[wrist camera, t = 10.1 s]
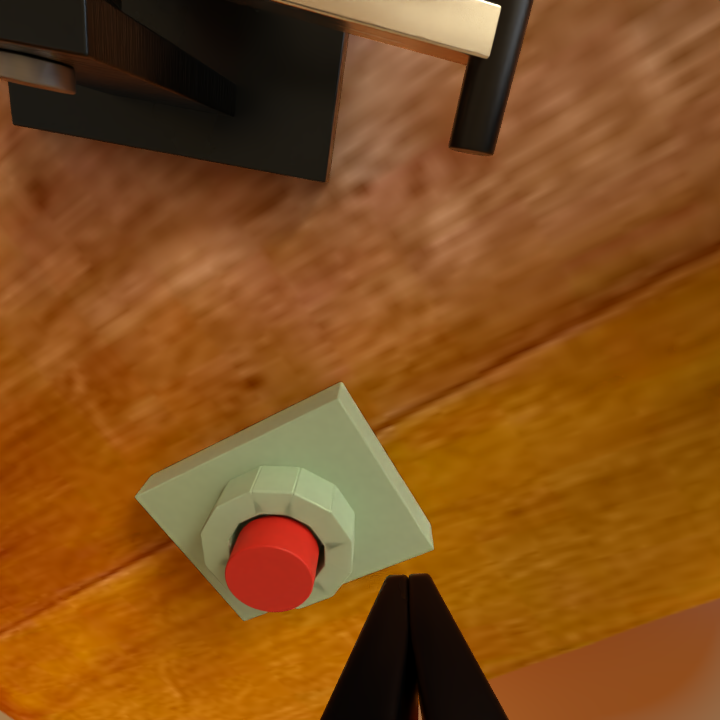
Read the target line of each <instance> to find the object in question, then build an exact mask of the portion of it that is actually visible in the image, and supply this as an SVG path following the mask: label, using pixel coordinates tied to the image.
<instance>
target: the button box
mask: <svg viewBox="0 0 720 720" xmlns="http://www.w3.org/2000/svg"><path fill="white" fill-rule="evenodd" d="M135 499H136V500H137V501H138V502H139V503H140V504H141V505H142V506H143V508H144V509H145V510H146V511H147V512H148V513H149V514H150V516H151V517H152V518H153V519H154V520H155V521H156V522H157V523H158V525H159V526H160V527H161V528H162V529H163V530H164V531H165V533H166V534H167V535H168V536H169V537H170V538H171V539H172V540H173V542H174V543H175V544H176V545H177V546H178V547H179V548H180V550H181V551H182V552H183V553H184V554H185V555H186V556H187V557H188V559H189V560H190V561H191V562H192V563H193V564H194V565H195V566H196V568H197V569H198V570H199V571H200V572H201V573H202V574H203V576H204V577H205V578H206V579H207V580H208V581H209V582H210V583H211V585H212V586H213V587H214V588H215V589H216V590H217V591H218V593H219V594H220V595H221V596H222V597H223V598H224V599H225V600H226V602H227V603H228V604H229V605H230V606H231V607H232V608H233V610H234V611H235V612H236V613H237V614H238V615H239V616H240V617H241V619H242V620H243V621H246V620H249V619H251V618H254V617H257V616H259V615H262V614H265V613H267V612H266V611H261V610H257V609H254V608H252V607H249V606H247V605H245V604H244V603H242V602H241V601H239V600H238V599H237V598H236V597H235V596H234V595H233V594H232V593H231V591H230V590H229V588H228V586H227V583H226V580H225V567H226V564H227V562H228V559H229V557H230V554H231V552H232V550H233V547H234V545H235V542H236V540H237V537H238V535H239V533H240V531H241V530H242V529H243V527H244V526H245V525H247V524H248V523H249V522H251V521H252V520H254V519H257V518H260V517H264V516H274V515H276V516H284V517H288V518H291V519H294V520H296V521H298V522H300V523H301V524H303V525H304V526H306V527H307V528H308V529H309V530H310V531H311V532H312V534H313V535H314V537H315V538H316V541H317V543H318V547H319V557H318V563H317V569H316V575H315V580H314V586H313V590H312V592H311V594H310V596H309V597H308V599H307V600H306V601H305V602H304V603H302V604H301V605H300V606H298V607H296V608H294V609H299V608H303V607H306V606H308V605H311V604H314V603H316V602H319V601H322V600H324V599H327V598H330V597H332V596H333V595H334V594H335V593H336V591H337V590H338V589H339V588H340V586H341V585H342V584H344V583H347V582H349V581H352V580H355V579H357V578H360V577H363V576H365V575H368V574H371V573H373V572H376V571H379V570H381V569H384V568H387V567H389V566H392V565H394V564H397V563H400V562H402V561H405V560H408V559H410V558H413V557H416V556H418V555H421V554H424V553H426V552H429V551H432V550H433V549H434V546H433V538H432V531H431V524H430V523H429V521H428V519H427V518H426V516H425V515H424V513H423V511H422V510H421V508H420V506H419V505H418V503H417V502H416V500H415V498H414V497H413V495H412V494H411V492H410V490H409V489H408V487H407V486H406V484H405V482H404V481H403V479H402V478H401V476H400V474H399V473H398V471H397V470H396V468H395V466H394V465H393V463H392V461H391V460H390V458H389V457H388V455H387V453H386V452H385V450H384V449H383V447H382V445H381V444H380V442H379V441H378V439H377V437H376V436H375V434H374V433H373V431H372V429H371V428H370V426H369V425H368V423H367V421H366V420H365V418H364V416H363V415H362V413H361V412H360V410H359V408H358V407H357V405H356V404H355V402H354V400H353V399H352V397H351V396H350V394H349V392H348V391H347V389H346V388H345V386H344V384H343V383H342V382H339V383H337V384H335V385H333V386H331V387H329V388H327V389H325V390H323V391H321V392H319V393H317V394H315V395H313V396H311V397H309V398H307V399H305V400H303V401H301V402H299V403H297V404H295V405H293V406H291V407H289V408H287V409H285V410H283V411H281V412H279V413H276V414H274V415H272V416H270V417H268V418H266V419H264V420H262V421H260V422H258V423H256V424H254V425H252V426H250V427H248V428H246V429H244V430H242V431H240V432H238V433H236V434H234V435H232V436H230V437H228V438H226V439H224V440H222V441H220V442H218V443H216V444H214V445H212V446H210V447H208V448H206V449H204V450H202V451H200V452H198V453H196V454H194V455H192V456H190V457H187V458H185V459H183V460H181V461H179V462H177V463H175V464H173V465H171V466H169V467H167V468H165V469H163V470H161V471H159V472H157V473H155V474H153V475H151V477H150V478H149V479H148V480H147V482H146V483H145V484H144V485H143V487H142V488H141V489H140V491H139V492H138V493H137V494H136V496H135Z"/></svg>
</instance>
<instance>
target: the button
mask: <svg viewBox="0 0 720 720" xmlns="http://www.w3.org/2000/svg"><path fill="white" fill-rule="evenodd" d="M318 557H319V547H318V543H317V541H316V538H315V537H314V535H313V534H312V532H311V531H310V530H309V529H308V528H307V527H306V526H304V525H303V524H301V523H300V522H298V521H296V520H294V519H291V518H288V517H284V516H276V515H274V516H264V517H260V518H257V519H254V520H252V521H251V522H249V523H248V524H247V525H245V526H244V527H243V529H242V530H241V531H240V533H239V535H238V537H237V540H236V542H235V545H234V547H233V550H232V552H231V554H230V557H229V559H228V562H227V564H226V567H225V580H226V583H227V586H228V588H229V590H230V591H231V593H232V594H233V595H234V596H235V597H236V598H237V599H238V600H239V601H241V602H242V603H244V604H245V605H247V606H249V607H252V608H254V609H257V610H261V611H266V612H283V611H288V610H291V609H294V608H296V607H298V606H300V605H301V604H302V603H304V602H305V601H306V600H307V599H308V597H309V596H310V594H311V592H312V590H313V586H314V580H315V575H316V569H317V563H318Z"/></svg>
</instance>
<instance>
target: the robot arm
mask: <svg viewBox="0 0 720 720" xmlns="http://www.w3.org/2000/svg"><path fill="white" fill-rule="evenodd" d="M418 695H419V702H420V709H421V716H422V720H509V719H508V718H507V716H506V714H505V712H504V710H503V708H502V706H501V705H500V703H499V701H498V699H497V697H496V695H495V694H494V692H493V690H492V688H491V686H490V684H489V683H488V681H487V679H486V677H485V675H484V673H483V672H482V670H481V668H480V666H479V664H478V663H477V661H476V659H475V657H474V655H473V653H472V652H471V650H470V648H469V646H468V644H467V642H466V641H465V639H464V637H463V635H462V633H461V631H460V630H459V628H458V626H457V624H456V622H455V620H454V619H453V617H452V615H451V613H450V611H449V609H448V608H447V606H446V604H445V602H444V600H443V598H442V597H441V595H440V593H439V591H438V589H437V587H436V586H435V584H434V582H433V580H432V578H431V577H430V575H429V574H426V573H424V574H411V575H409V577H407V576H406V575H389V576H387V577H386V579H385V581H384V583H383V585H382V587H381V589H380V592H379V594H378V596H377V598H376V600H375V602H374V605H373V607H372V609H371V611H370V613H369V615H368V618H367V620H366V622H365V624H364V626H363V628H362V630H361V633H360V635H359V637H358V639H357V641H356V643H355V646H354V648H353V650H352V652H351V654H350V656H349V659H348V661H347V663H346V665H345V667H344V669H343V671H342V674H341V676H340V678H339V680H338V682H337V684H336V687H335V689H334V691H333V693H332V695H331V697H330V700H329V702H328V704H327V706H326V708H325V710H324V712H323V715H322V717H321V719H320V720H418Z"/></svg>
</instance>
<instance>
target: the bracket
mask: <svg viewBox="0 0 720 720" xmlns="http://www.w3.org/2000/svg"><path fill="white" fill-rule="evenodd" d="M348 37H349V34H348V33H345V32H341V31H337V30H334V29H330V28H326V27H323V26H319V25H315V24H312V23H308V22H304V21H300V20H297V19H293V18H289V17H286V16H282V15H278V14H275V13H271V12H267V11H263V10H260V9H256V8H252V7H249V6H245V5H241V4H238V3H234V2H230V1H227V0H122V10H120V9H118V8H117V7H115V6H113V5H112V4H110V3H109V2H107V1H106V0H0V79H1V80H5V81H8V86H9V95H10V104H11V114H12V123H13V124H14V125H17V126H22V127H27V128H33V129H38V130H44V131H49V132H54V133H60V134H65V135H71V136H76V137H81V138H87V139H92V140H98V141H103V142H108V143H114V144H119V145H125V146H130V147H135V148H141V149H146V150H152V151H157V152H162V153H168V154H173V155H179V156H184V157H189V158H195V159H200V160H206V161H211V162H216V163H222V164H227V165H233V166H238V167H243V168H249V169H254V170H260V171H265V172H270V173H276V174H281V175H287V176H292V177H297V178H303V179H308V180H314V181H319V182H329V178H330V171H331V163H332V156H333V148H334V141H335V134H336V126H337V119H338V111H339V104H340V97H341V89H342V82H343V74H344V67H345V60H346V52H347V45H348Z"/></svg>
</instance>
